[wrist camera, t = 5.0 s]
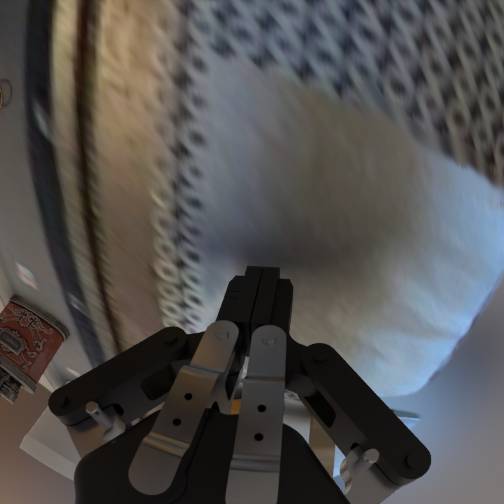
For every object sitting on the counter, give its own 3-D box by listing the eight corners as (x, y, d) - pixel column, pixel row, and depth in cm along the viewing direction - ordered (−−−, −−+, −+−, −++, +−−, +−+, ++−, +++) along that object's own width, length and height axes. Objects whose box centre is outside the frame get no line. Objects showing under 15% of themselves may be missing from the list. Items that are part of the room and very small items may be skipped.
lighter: (66, 322, 24) (14, 406, 16) (72, 341, 26) (26, 419, 18) (9, 288, 24) (-44, 357, 16) (17, 308, 26) (-30, 375, 18)
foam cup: (54, 365, 32) (12, 442, 22) (115, 399, 33) (78, 483, 23) (61, 388, 38) (28, 453, 27) (112, 417, 39) (83, 485, 28)
